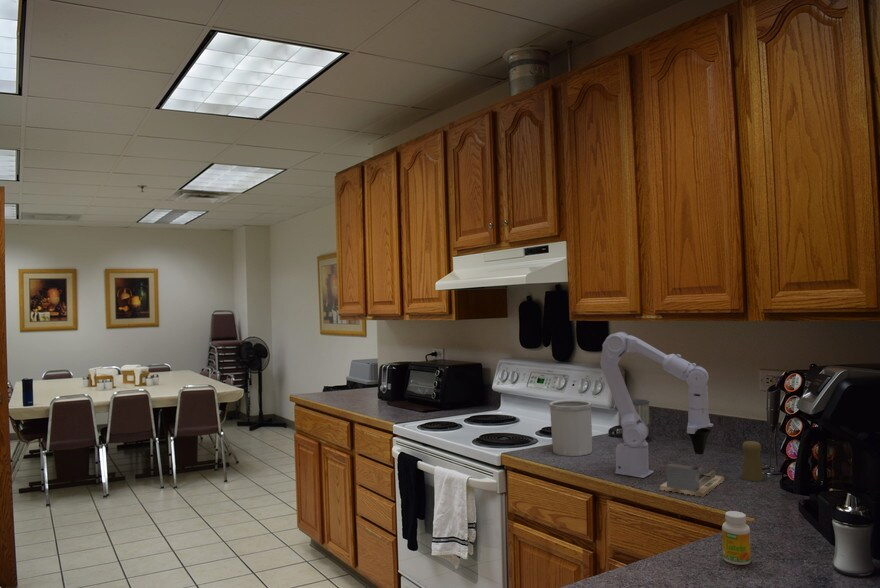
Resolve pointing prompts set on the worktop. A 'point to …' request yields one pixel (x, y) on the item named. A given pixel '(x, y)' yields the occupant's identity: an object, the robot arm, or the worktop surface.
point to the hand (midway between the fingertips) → (699, 453)
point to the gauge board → (704, 485)
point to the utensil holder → (571, 427)
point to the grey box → (682, 477)
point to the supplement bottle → (736, 538)
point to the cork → (752, 461)
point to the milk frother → (643, 412)
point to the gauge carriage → (702, 473)
